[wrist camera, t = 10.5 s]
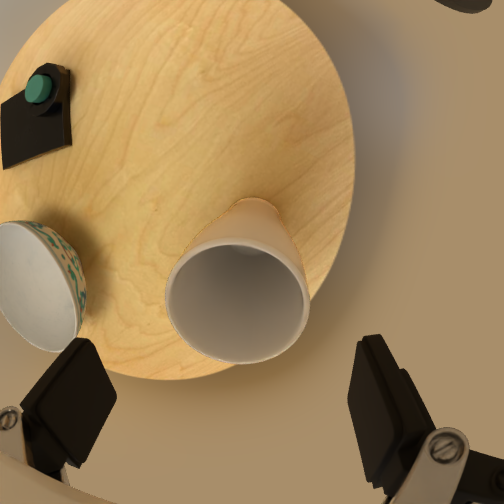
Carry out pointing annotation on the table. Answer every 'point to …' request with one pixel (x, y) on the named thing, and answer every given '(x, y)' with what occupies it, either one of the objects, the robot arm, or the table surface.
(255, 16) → the table surface
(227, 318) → the white tall cup
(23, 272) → the chinaware
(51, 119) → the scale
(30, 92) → the tare button
